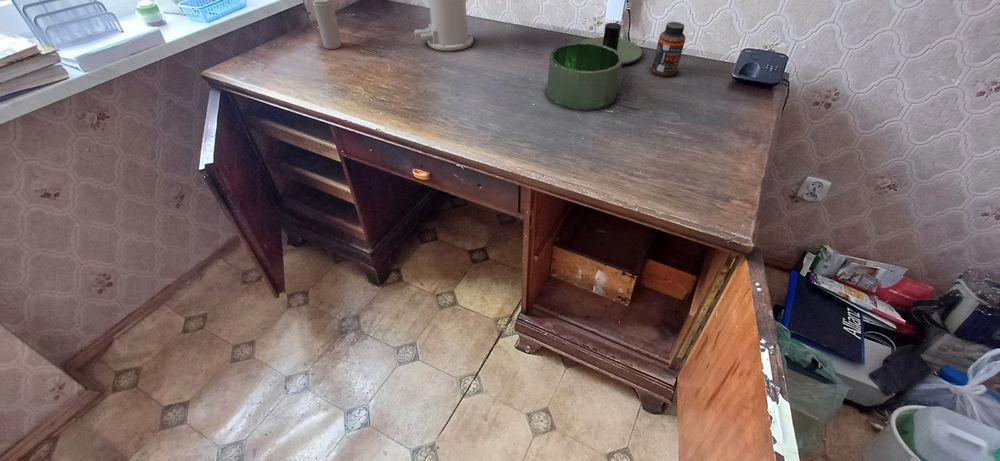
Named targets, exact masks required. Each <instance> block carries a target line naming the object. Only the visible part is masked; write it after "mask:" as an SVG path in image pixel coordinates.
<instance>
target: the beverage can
mask: <svg viewBox="0 0 1000 461" xmlns="http://www.w3.org/2000/svg"><path fill="white" fill-rule="evenodd" d="M312 6H313V10H314V14H315V17H316V18H315V19H316V22H317V25H318V29H319V33H320V37H321V40H322V44H323V46H324V48H326V49H327V50H336V49H339V48H341V46H342V44H343V43H342V38H341V34H340V33H341V32H340V28H339V24H338V21H337V17H336V12H335V6H334V4H333V0H312Z"/></svg>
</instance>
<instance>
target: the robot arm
mask: <svg viewBox="0 0 1000 461" xmlns="http://www.w3.org/2000/svg"><path fill="white" fill-rule="evenodd" d="M428 5H429V13H430V14H429V15H430V23H428V27H425V28H424V29H414V31H413V32H414V37H415V38H420V39H421V40H426V41H427V42H426V43H427V45H428V46H429V47H430V48H432V49H434V50H437V51H443V52H444V51H445V52H454V51H460V50H464V49H467V48H469V47H470V46H471V45H472V44H474V36H473V35H472V34H471V33H470V32H468V20H467V19H468V18H467V0H428Z"/></svg>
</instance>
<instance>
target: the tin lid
mask: <svg viewBox="0 0 1000 461" xmlns="http://www.w3.org/2000/svg"><path fill="white" fill-rule="evenodd" d="M621 31H622V25H621V24H620V23H616V22H608V23H605V24H604V31H603V36H598V37H590V38H588V39H584V40H582V41H581V42H580V43H594V44H599V45H604V46H607V47H609V48H612V49H614V50H616V51H617V52H618V53H619V54H621V55H622V60H623V64H622V65H627V64H631V63H634V62H636V61H638V60H639V59H641V57H642V54H643V51H642V48H641V47H640V46H639V45H638V44H636V43H635V42H633V41H630V40H627V39H624V38H620V36H621Z"/></svg>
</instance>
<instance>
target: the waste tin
mask: <svg viewBox="0 0 1000 461" xmlns="http://www.w3.org/2000/svg"><path fill="white" fill-rule="evenodd" d="M548 59H549V60H548V75H547V86H546V87H547V88H546V89H547V91H546V94H547V96H548V98H549V99H550V100H551V101H552V102H553V103H556V104H557V105H559V106H560V107H564V108H567V109H572V110H582V111H591V110H599V109H602V108H603V109H604V108H606V107H608V106H610V105H611V104H613V103H614V102H615V100H616V97H617V96H618V90H619V84H620V79H621V75H622V74H621V73H622V68H623V65H624V64H623V60H622V55H621V54H619V53H618V52H617V51H616V50H614V49H612V48H609V47H607V46H604V45H599V44H594V43H581V42H571V43H565V44H561V45H559V46H556V47H555V48H553V49H552V50H551V51H550V52H549V58H548Z"/></svg>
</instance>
